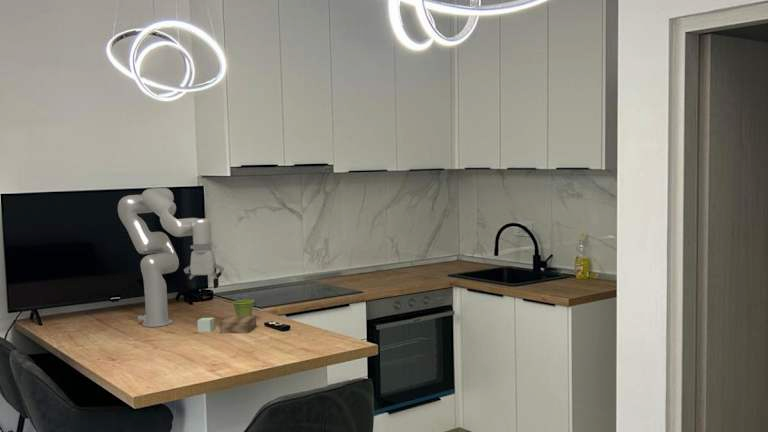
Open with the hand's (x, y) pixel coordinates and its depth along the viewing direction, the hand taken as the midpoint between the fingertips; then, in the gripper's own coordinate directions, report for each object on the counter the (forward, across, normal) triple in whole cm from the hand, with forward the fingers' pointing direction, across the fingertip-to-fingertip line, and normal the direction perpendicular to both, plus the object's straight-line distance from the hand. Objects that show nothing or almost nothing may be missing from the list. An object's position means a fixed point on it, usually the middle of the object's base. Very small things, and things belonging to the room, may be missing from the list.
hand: (204, 288), depth 310 cm
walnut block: (+18, +14, 0) cm, 23 cm away
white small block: (+18, 0, 0) cm, 18 cm away
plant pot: (+18, +10, +20) cm, 29 cm away
